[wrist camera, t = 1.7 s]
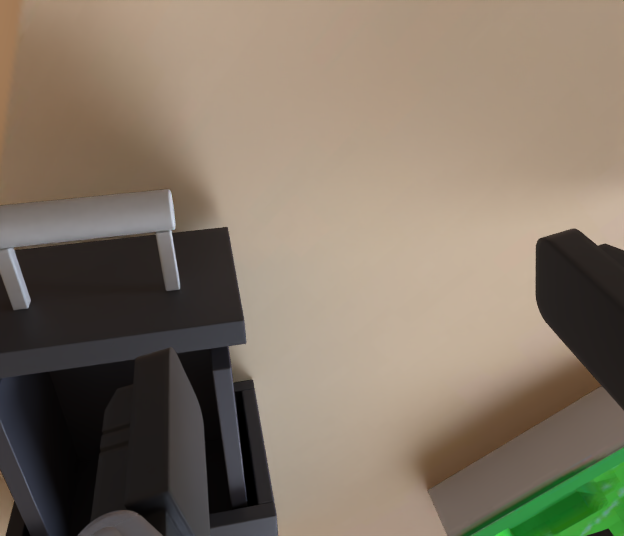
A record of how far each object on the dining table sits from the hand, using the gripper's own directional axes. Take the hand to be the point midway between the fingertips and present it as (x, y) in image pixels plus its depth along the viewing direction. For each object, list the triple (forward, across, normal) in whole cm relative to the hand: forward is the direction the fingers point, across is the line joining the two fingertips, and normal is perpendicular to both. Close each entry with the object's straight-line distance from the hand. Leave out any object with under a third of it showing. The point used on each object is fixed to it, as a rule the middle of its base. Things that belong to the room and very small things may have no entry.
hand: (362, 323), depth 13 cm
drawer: (+17, +10, +9) cm, 21 cm away
